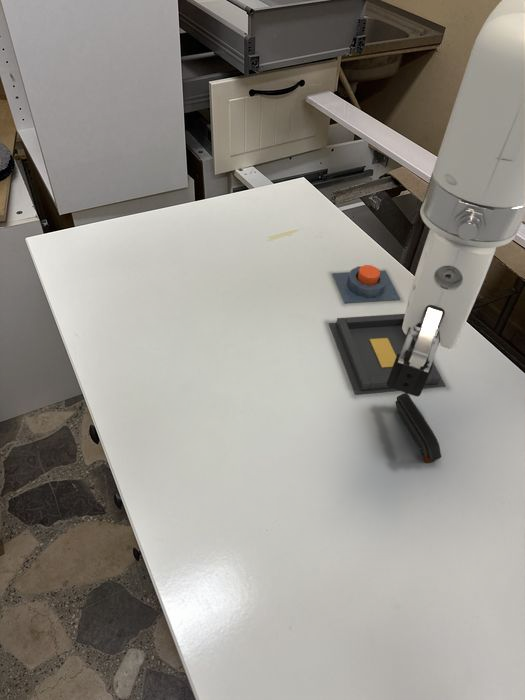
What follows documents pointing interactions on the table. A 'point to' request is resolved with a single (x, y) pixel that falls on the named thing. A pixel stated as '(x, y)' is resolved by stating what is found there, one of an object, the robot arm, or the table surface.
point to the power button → (368, 275)
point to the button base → (364, 288)
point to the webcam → (418, 428)
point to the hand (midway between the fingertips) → (413, 356)
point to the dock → (374, 351)
